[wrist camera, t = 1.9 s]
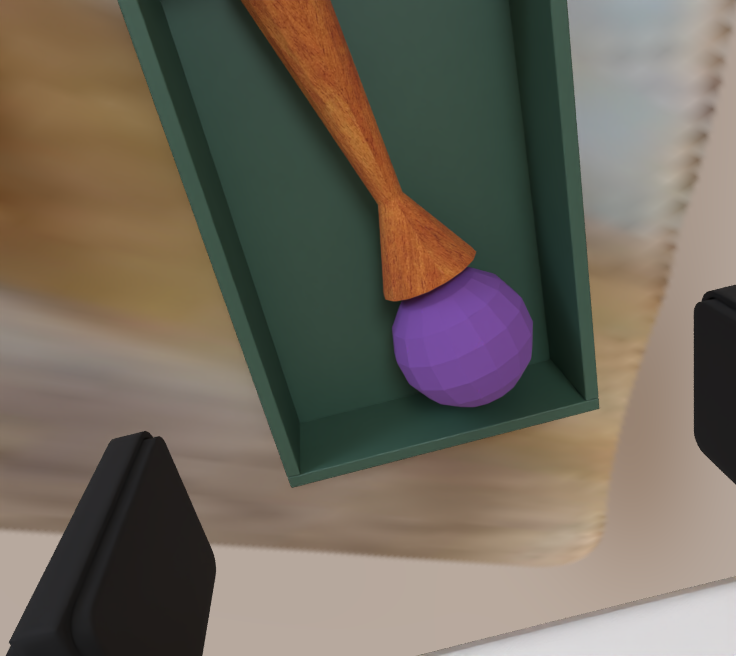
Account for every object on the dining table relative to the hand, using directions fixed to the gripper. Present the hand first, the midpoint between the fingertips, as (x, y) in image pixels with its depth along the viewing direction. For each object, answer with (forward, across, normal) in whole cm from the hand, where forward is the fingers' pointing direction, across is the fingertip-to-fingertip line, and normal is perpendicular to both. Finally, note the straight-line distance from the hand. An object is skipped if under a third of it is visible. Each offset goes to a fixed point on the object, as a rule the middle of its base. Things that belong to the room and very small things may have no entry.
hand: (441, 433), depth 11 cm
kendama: (+18, -1, -1) cm, 18 cm away
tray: (+18, -1, -1) cm, 18 cm away
